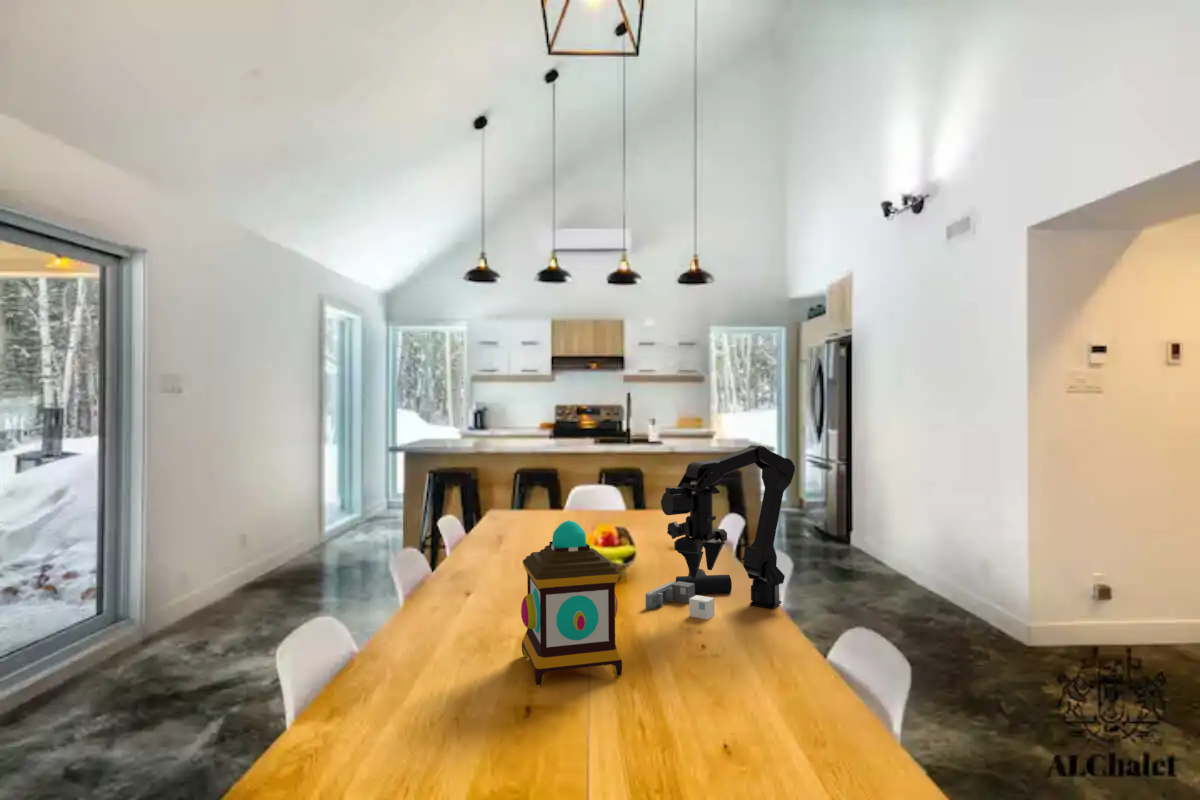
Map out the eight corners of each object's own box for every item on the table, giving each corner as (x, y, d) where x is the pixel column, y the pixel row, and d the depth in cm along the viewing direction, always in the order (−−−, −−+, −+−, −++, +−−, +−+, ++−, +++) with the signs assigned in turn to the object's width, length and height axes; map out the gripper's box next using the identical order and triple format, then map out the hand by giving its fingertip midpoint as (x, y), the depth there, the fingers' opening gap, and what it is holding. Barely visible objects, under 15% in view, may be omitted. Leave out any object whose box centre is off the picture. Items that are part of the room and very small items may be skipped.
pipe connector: (670, 567, 204) (720, 566, 206) (670, 585, 204) (720, 583, 206) (679, 578, 193) (731, 576, 194) (679, 597, 193) (731, 595, 195)
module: (714, 615, 175) (714, 597, 175) (707, 619, 172) (707, 601, 172) (696, 612, 178) (696, 595, 178) (689, 616, 175) (689, 598, 175)
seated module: (694, 600, 189) (694, 583, 189) (688, 603, 186) (688, 587, 186) (678, 597, 192) (678, 581, 192) (671, 600, 188) (671, 584, 188)
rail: (680, 597, 191) (680, 583, 191) (655, 610, 180) (655, 594, 180) (671, 595, 193) (671, 581, 193) (645, 608, 181) (645, 593, 181)
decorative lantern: (530, 691, 130) (528, 532, 130) (514, 654, 149) (513, 515, 149) (631, 679, 135) (630, 526, 135) (603, 645, 154) (602, 510, 154)
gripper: (689, 504, 187) (690, 562, 187) (655, 514, 172) (655, 577, 172) (727, 508, 181) (728, 567, 181) (695, 518, 165) (696, 583, 165)
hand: (701, 573), depth 175 cm, fingers open, 9 cm apart
